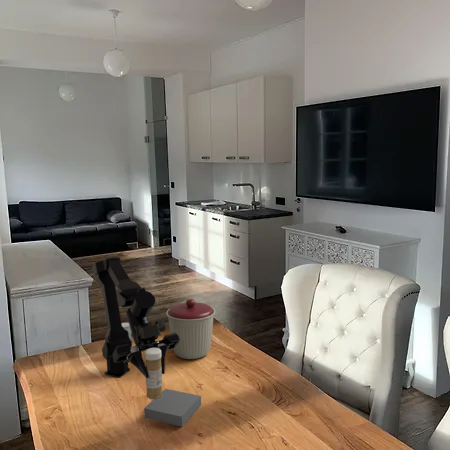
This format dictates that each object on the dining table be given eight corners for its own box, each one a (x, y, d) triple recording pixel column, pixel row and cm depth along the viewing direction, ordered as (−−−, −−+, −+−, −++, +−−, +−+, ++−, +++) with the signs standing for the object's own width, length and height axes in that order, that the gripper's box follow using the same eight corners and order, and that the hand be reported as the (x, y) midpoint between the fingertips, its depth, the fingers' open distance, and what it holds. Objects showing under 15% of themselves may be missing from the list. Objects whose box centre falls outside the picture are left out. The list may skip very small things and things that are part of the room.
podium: (144, 418, 132) (144, 408, 132) (165, 397, 143) (165, 388, 143) (182, 426, 128) (181, 416, 127) (201, 405, 139) (200, 395, 138)
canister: (189, 340, 188) (187, 289, 185) (225, 351, 177) (224, 297, 174) (157, 356, 173) (155, 301, 170) (195, 368, 163) (193, 310, 160)
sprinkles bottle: (156, 390, 134) (155, 345, 132) (165, 396, 131) (164, 350, 129) (143, 395, 131) (141, 350, 129) (152, 402, 128) (150, 355, 126)
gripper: (113, 318, 126) (129, 372, 119) (176, 306, 136) (195, 356, 128) (106, 336, 134) (120, 388, 127) (166, 323, 144) (183, 371, 136)
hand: (155, 375), depth 129 cm, fingers closed on sprinkles bottle, 4 cm apart
